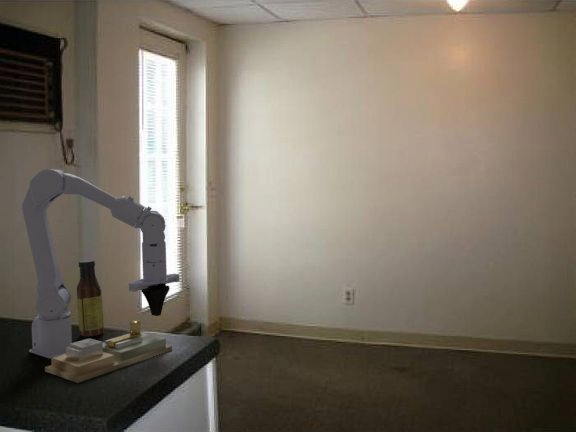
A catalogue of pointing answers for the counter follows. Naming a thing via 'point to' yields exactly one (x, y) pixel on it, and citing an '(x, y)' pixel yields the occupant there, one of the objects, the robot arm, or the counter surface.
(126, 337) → the bolt
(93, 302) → the sauce bottle
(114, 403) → the counter surface
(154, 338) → the door and jamb
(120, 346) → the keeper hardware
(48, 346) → the robot arm
